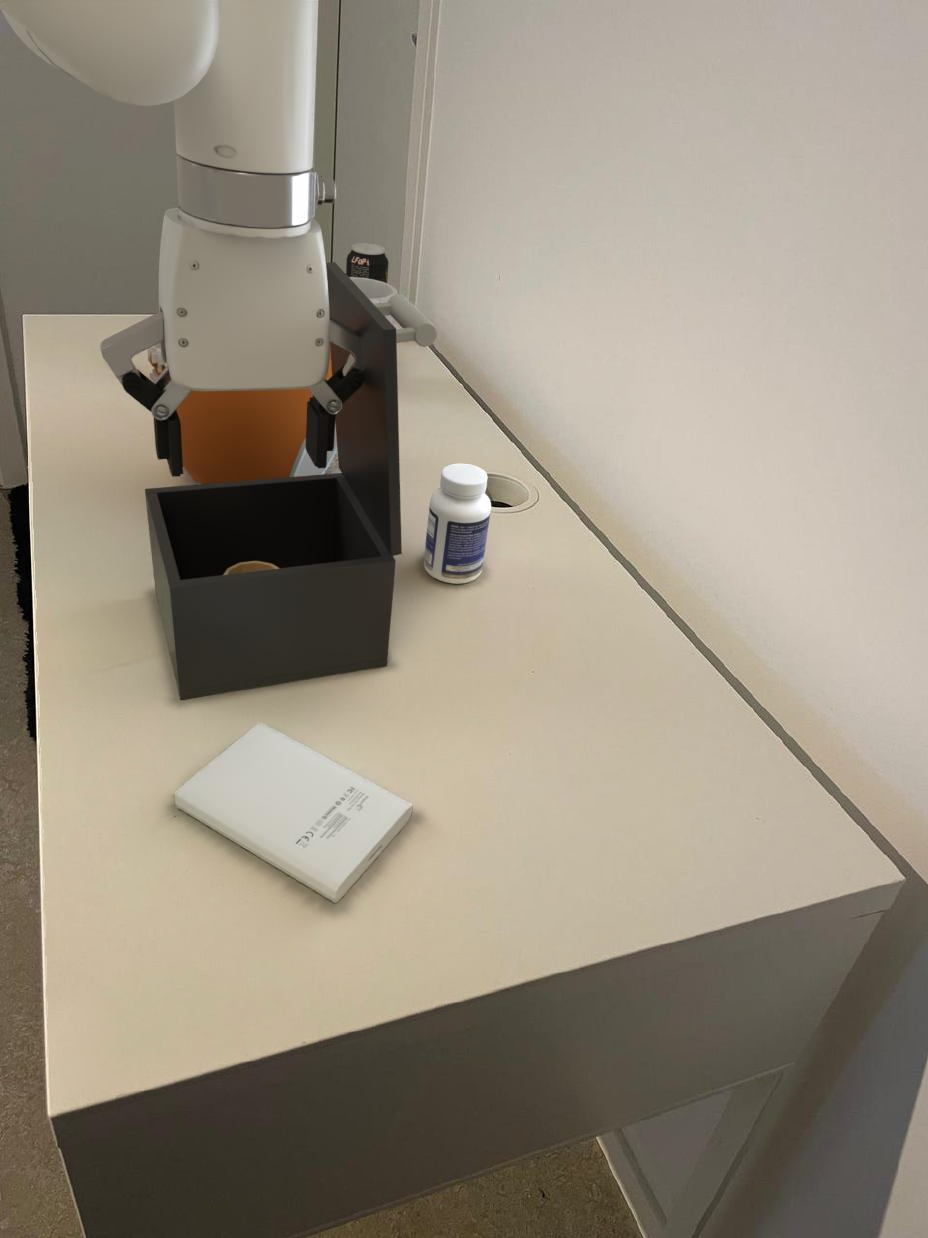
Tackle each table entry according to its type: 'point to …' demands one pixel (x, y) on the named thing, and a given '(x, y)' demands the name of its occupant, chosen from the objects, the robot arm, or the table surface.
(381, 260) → the beverage can
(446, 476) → the pill bottle
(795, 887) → the table surface
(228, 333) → the robot arm
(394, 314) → the lid
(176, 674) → the open storage box
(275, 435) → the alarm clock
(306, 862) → the hard drive
